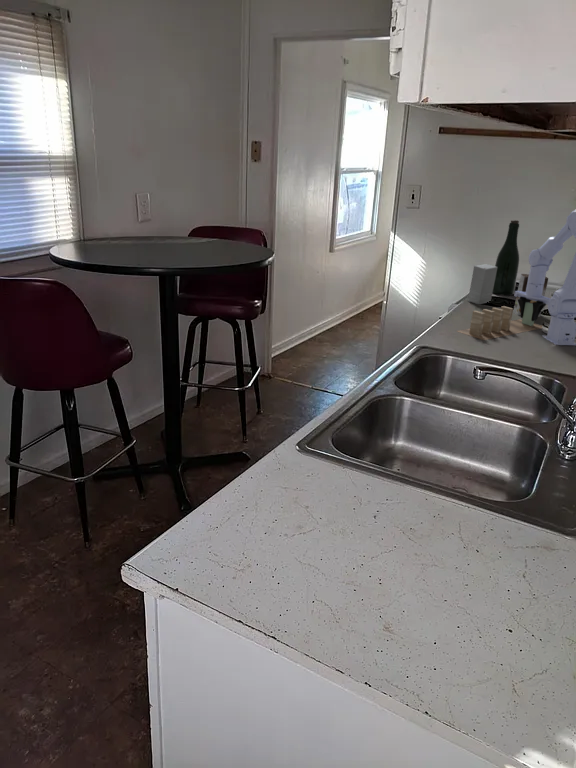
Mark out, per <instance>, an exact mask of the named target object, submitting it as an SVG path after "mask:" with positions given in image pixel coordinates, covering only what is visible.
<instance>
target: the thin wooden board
mask: <svg viewBox="0 0 576 768" xmlns="http://www.w3.org/2000/svg"><path fill="white" fill-rule="evenodd" d="M542 326H543V325H542V324H538V323H535V322H534V325H532V326H530V325H526V324H523V323H522V318H519V319H513V320H511V324H510V329H509V330H507V331H506V330H503V329H501V331H500V332H494V331H491V334H486V333H482V335H481V336H476V335H473V334H470V333H469V332H470V328H465V329H460V330H456V332H457V333H461V334H463V335H465V336H468V337H471V338H475V339H478V340H481V341H487V340H492V339H497V338H500V337H501V338H502V337H505V336H512V335H516V334H521V333H526V332H532V331H536V330H540V329H543V328H542Z"/></svg>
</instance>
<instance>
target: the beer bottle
mask: <svg viewBox="0 0 576 768" xmlns="http://www.w3.org/2000/svg"><path fill="white" fill-rule="evenodd" d="M519 222H520V221H519V220H517V219H511V220H510V222H509V224H508V230H507V236H506V239H505V241H504V244H503V245H502V247H501V249H500V250H499V252H498V254H497V255H496V256H497V257H496V260H495V265H494V266H495V267H497V272H496V277H495V282H494V287H493V292H492V294H496V295H501V296H512V295H514V294H515V291H516V284H517V279H518V272H519V267H520V265H519V264H520V253H519V252H520V251H519V246H518V233H519V229H520V223H519Z"/></svg>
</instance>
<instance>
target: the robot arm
mask: <svg viewBox="0 0 576 768" xmlns="http://www.w3.org/2000/svg"><path fill="white" fill-rule="evenodd" d="M572 236H573V237H574V238H575V239H576V209H574V210H572V211H571V212H570V213H569V215H567V216H566V222H565V224H564V225H563V226H562V227H561V229H560V230H559V231H558V233H557V234H556V235H555V236H554V235H553V236H549V237H548V238H547V240H546V241H544V243H543V244H542V245H541V246H540V247H539V248H537V249H532V250H531V251H530V253H529V255H528V264H529V265H530V268H529V273H528V274H529V277H528V282H527V287H526V292H522V291H518V290H514V294H513V295H514V297H515V298H516V297H517V296H518V297H520V299H518V303H519V306H520V311H521V315H520V319H523V313H524V308H525V303H526V302H531V300H533V301H537V302H533V313H532V319H531V321H534V322H535V321H537V320H538V318H539V317H538V315H539V314H540V312H541V313H542V311H543V309H544V308H545V307H546V306H547V309H548V313H549V315H550V321H549V323H548V324H549V325H548V330H547V335H542V337H543V338H544V339H546V340H547V341H549V342H551V343H552V344H553V345H555V346H576V342H575V340H576V322H575V318H576V252H575V253H574V256H573V259H572V261H571V264H570V267H569V269H568V271H567V274H566V277H565V279H564V282H563V285H562V286H561V287H560V288H558V289H556V290H555V291H554V292H553V295H552V296H551V298H550V297H547V296H546V295H545V296H542V291H543V286H544V282H545V277H547V276H546V275H547V272H548V271H549V270H550V266H551V265H552V264H553V261H554V259H553V258H554V257H555V256H556V255H557V254H558V253H559V252H560V251H562V249H563V247H564V243H565V242H566V241H567V240H569V239H570V238H571V237H572Z"/></svg>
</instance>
